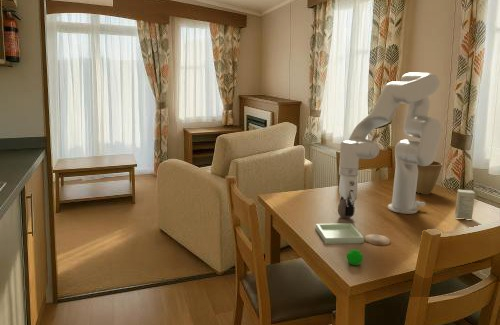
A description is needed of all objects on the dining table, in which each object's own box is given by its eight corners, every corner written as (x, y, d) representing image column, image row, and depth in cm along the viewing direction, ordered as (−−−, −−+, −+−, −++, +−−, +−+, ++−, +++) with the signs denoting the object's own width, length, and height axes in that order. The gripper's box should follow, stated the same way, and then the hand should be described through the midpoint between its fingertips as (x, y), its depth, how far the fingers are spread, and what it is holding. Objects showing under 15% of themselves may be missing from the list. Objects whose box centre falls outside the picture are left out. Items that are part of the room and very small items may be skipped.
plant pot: (443, 197, 205) (447, 165, 202) (413, 196, 205) (417, 165, 202) (431, 188, 220) (434, 159, 216) (403, 187, 220) (406, 158, 216)
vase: (354, 220, 169) (355, 200, 167) (337, 219, 170) (338, 199, 168) (353, 214, 175) (355, 195, 173) (337, 213, 177) (338, 194, 175)
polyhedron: (364, 267, 130) (365, 253, 129) (349, 268, 129) (350, 254, 128) (358, 260, 135) (359, 246, 134) (344, 260, 134) (345, 247, 133)
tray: (350, 228, 162) (351, 223, 161) (363, 242, 148) (363, 237, 148) (315, 228, 161) (316, 223, 160) (325, 243, 147) (325, 238, 147)
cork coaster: (384, 235, 156) (384, 234, 156) (394, 245, 147) (394, 244, 147) (361, 235, 155) (361, 234, 155) (370, 245, 146) (370, 244, 146)
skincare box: (470, 217, 177) (474, 190, 174) (471, 221, 173) (476, 193, 170) (453, 215, 179) (457, 188, 176) (454, 219, 175) (458, 191, 172)
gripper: (365, 176, 160) (362, 219, 164) (350, 165, 177) (348, 205, 181) (346, 176, 160) (343, 220, 164) (333, 166, 176) (331, 205, 180)
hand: (346, 212), depth 172 cm, fingers closed on vase, 6 cm apart
